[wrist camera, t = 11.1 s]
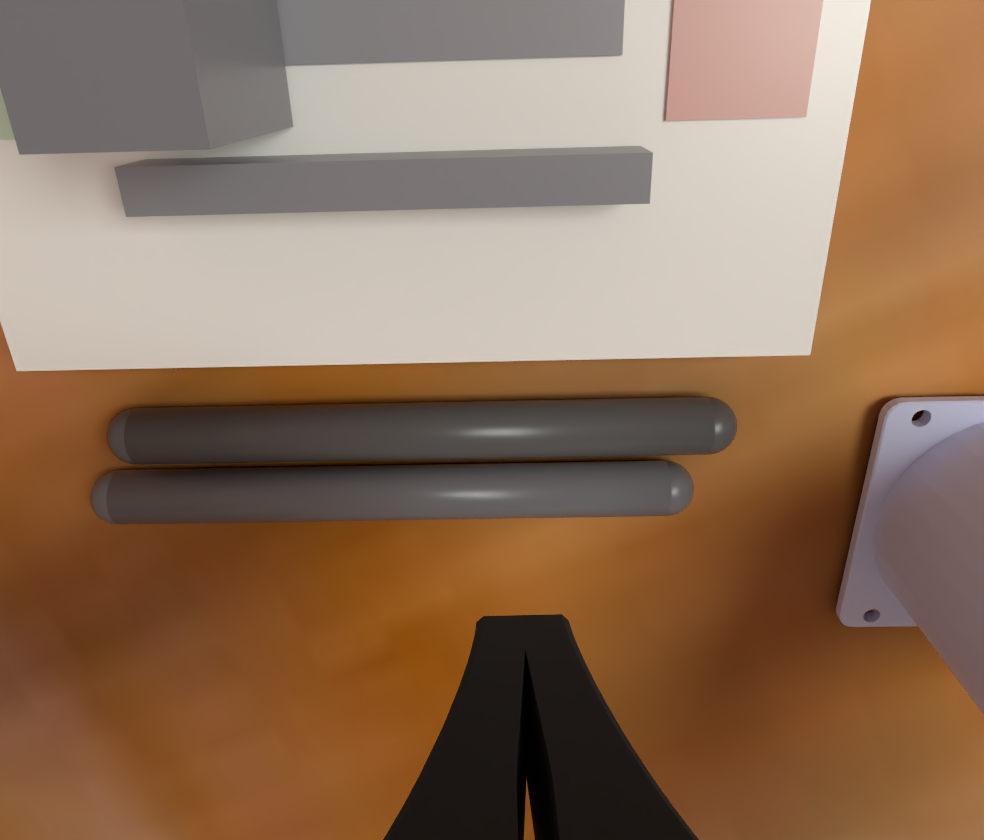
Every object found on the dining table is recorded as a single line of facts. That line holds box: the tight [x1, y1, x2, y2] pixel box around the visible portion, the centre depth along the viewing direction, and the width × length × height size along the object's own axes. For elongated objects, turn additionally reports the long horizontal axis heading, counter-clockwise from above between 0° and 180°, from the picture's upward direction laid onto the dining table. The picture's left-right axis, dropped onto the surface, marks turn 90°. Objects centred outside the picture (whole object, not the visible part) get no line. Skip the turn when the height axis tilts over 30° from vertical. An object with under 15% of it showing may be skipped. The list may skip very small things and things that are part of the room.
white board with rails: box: [0, 0, 871, 524], centre depth 16 cm, size 20×21×4 cm
